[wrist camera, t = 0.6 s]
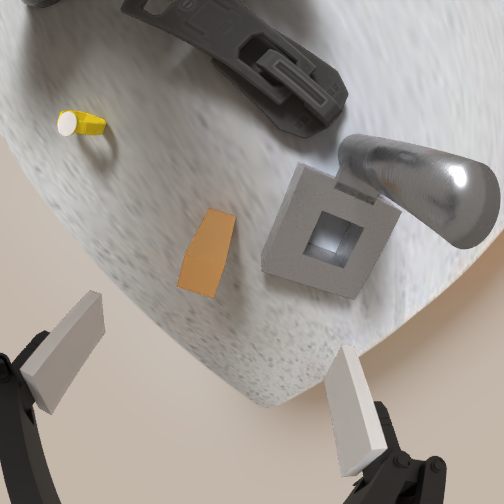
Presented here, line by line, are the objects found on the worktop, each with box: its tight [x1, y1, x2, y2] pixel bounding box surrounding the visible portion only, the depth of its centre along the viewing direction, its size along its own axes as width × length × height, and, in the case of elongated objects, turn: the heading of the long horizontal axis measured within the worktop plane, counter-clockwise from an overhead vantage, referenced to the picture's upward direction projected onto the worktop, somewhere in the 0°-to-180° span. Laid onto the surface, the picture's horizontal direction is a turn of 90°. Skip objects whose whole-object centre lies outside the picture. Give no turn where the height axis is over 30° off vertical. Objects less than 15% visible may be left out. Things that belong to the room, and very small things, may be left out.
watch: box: [57, 110, 107, 136], centre depth 25 cm, size 6×3×6 cm, turn 63°
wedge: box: [177, 208, 236, 298], centre depth 28 cm, size 3×3×12 cm
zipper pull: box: [120, 0, 348, 138], centre depth 22 cm, size 9×7×25 cm
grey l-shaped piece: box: [261, 134, 500, 300], centre depth 23 cm, size 18×12×20 cm
